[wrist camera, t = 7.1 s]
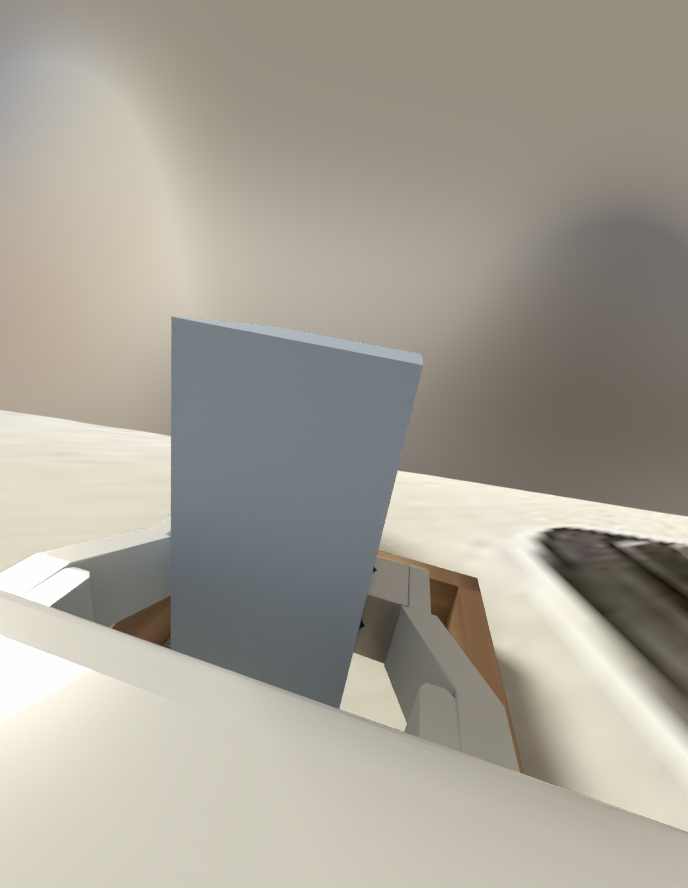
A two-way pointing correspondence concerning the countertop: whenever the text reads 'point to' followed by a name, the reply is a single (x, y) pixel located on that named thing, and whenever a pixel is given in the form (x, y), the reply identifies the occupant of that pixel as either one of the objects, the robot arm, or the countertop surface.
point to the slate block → (280, 495)
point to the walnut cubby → (449, 601)
